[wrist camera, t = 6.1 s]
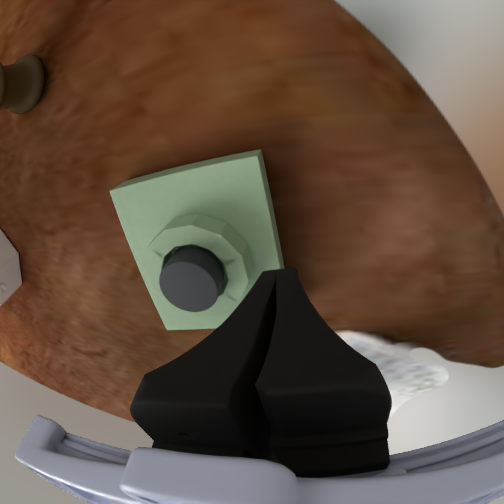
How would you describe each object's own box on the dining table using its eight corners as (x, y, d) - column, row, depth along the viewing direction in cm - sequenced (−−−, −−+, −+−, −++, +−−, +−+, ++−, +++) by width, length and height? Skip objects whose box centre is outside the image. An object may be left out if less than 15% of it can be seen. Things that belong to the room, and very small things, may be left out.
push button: (230, 292, 19) (225, 310, 18) (179, 297, 20) (170, 314, 18) (215, 242, 17) (208, 257, 16) (160, 250, 18) (149, 265, 17)
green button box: (291, 304, 23) (290, 340, 20) (174, 313, 25) (159, 346, 22) (261, 148, 18) (254, 161, 14) (124, 181, 20) (94, 200, 17)
